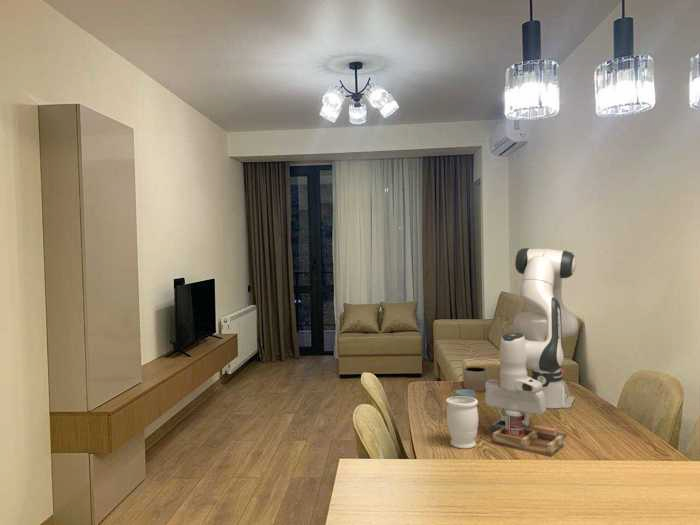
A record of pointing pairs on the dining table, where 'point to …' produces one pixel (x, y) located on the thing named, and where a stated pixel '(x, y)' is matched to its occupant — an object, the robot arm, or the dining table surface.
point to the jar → (462, 421)
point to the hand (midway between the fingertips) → (515, 422)
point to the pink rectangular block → (545, 430)
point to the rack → (528, 442)
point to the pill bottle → (514, 421)
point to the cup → (465, 393)
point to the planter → (475, 378)
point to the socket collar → (500, 423)
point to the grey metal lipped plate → (549, 436)
